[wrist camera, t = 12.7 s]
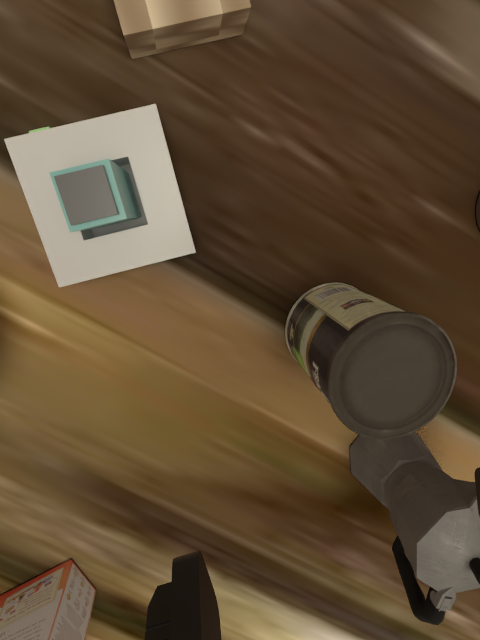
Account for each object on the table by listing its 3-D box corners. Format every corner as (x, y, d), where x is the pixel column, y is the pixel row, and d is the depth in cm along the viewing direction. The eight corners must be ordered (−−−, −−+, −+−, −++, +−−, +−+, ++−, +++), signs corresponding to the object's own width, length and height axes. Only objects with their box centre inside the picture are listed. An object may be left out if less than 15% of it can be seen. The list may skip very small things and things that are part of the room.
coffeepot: (367, 395, 47) (473, 500, 30) (438, 411, 49) (576, 519, 32) (324, 508, 50) (397, 662, 33) (392, 519, 52) (494, 672, 35)
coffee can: (321, 391, 46) (377, 464, 33) (265, 324, 43) (301, 374, 30) (393, 332, 46) (481, 383, 32) (341, 261, 43) (414, 284, 29)
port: (158, 113, 37) (154, 98, 32) (194, 247, 40) (195, 252, 36) (26, 144, 36) (1, 133, 32) (74, 278, 40) (59, 287, 35)
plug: (128, 172, 37) (106, 157, 27) (141, 217, 38) (125, 218, 28) (84, 183, 37) (45, 171, 26) (99, 227, 38) (66, 232, 28)
